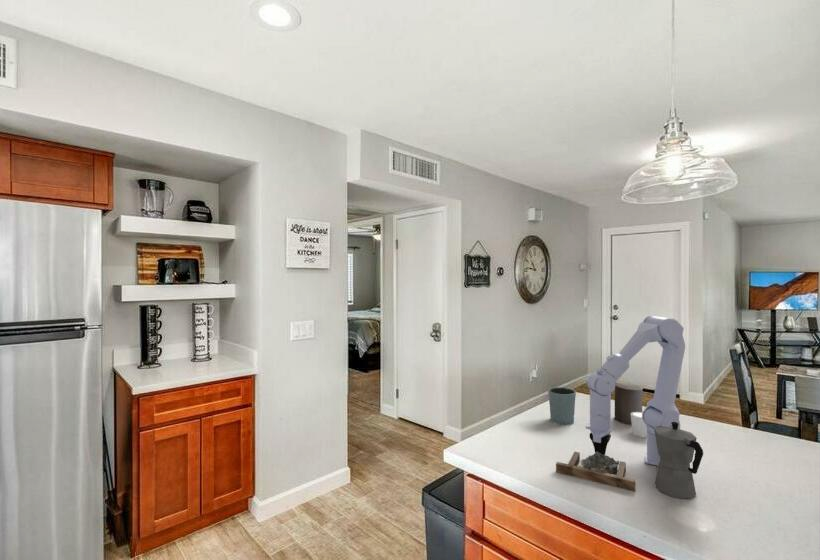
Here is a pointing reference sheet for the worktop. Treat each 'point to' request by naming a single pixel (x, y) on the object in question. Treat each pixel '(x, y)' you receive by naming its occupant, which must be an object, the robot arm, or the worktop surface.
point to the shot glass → (638, 424)
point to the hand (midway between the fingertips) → (600, 458)
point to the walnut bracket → (596, 473)
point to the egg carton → (600, 463)
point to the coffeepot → (676, 461)
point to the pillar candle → (627, 401)
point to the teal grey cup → (562, 405)
